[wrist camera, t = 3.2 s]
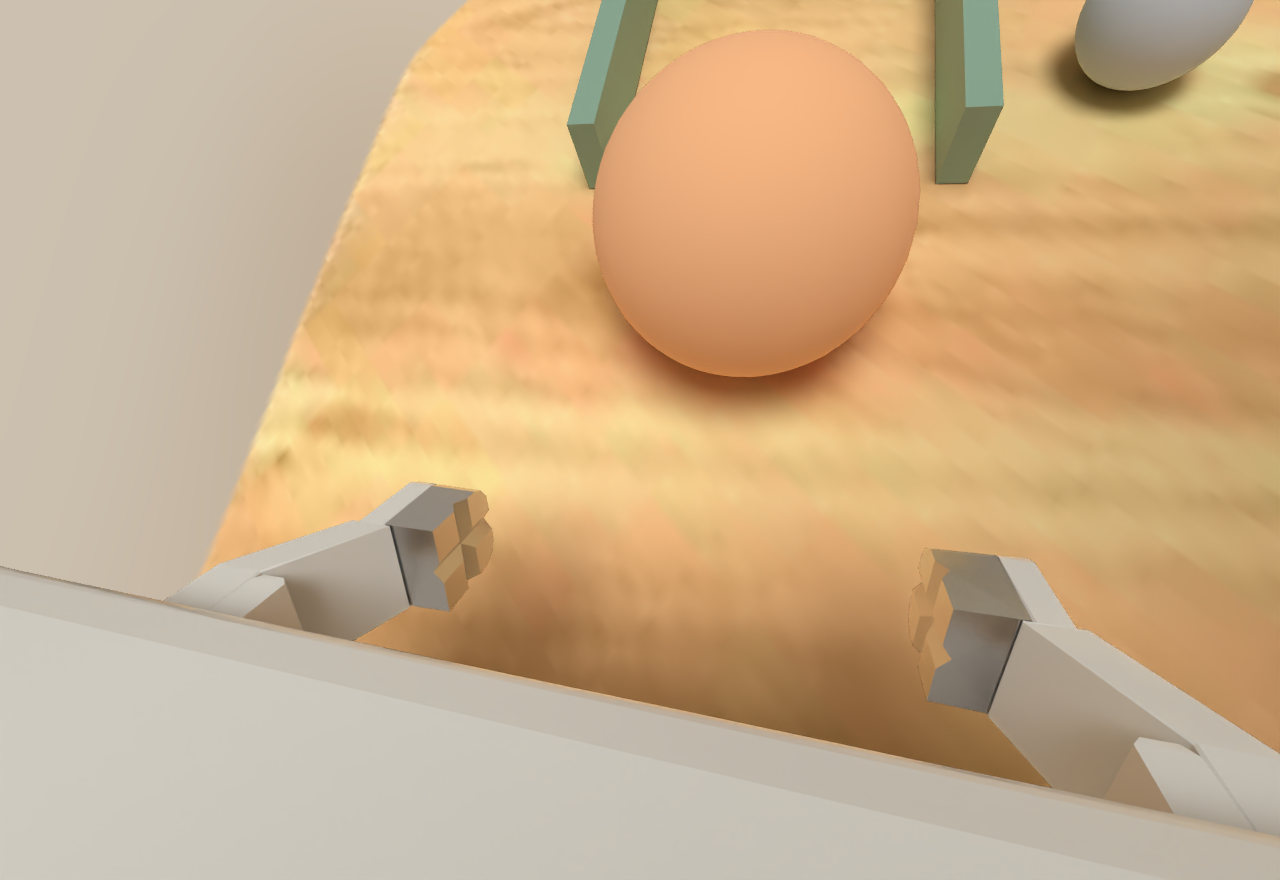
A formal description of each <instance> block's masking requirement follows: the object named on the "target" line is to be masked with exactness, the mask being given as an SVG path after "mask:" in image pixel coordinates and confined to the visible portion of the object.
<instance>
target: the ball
mask: <svg viewBox="0 0 1280 880" xmlns="http://www.w3.org/2000/svg"><path fill="white" fill-rule="evenodd" d="M919 199H920V180H919V169H918V160H917V154H916V150H915V147H914V143H913V139H912V136H911V133H910V130H909V127H908V124H907V122H906V120H905V118H904V116H903V114H902V112H901V109H900V108H899V106H898V105H897V103H896V101H895V100H894V98H893V96H892V95H891V93H890V92H889V91H888V89H887V88H886V86H885V85H884V84H883V82H882V81H881V80H880V79H879V78H878V77H877V76H876V75H875V74H874V73H873V72H872V71H871V70H869V69H868V68H867V67H866V66H865V65H864V64H863V63H862V62H861V61H860V60H858V59H857V58H855V57H854V56H853V55H851V54H850V53H848V52H846V51H845V50H843V49H841V48H839V47H837V46H835V45H833V44H831V43H829V42H827V41H825V40H822V39H820V38H817V37H814V36H811V35H807V34H803V33H798V32H792V31H783V30H756V31H748V32H741V33H736V34H732V35H728V36H724V37H721V38H718V39H715V40H712V41H709V42H707V43H704V44H702V45H700V46H698V47H696V48H694V49H692V50H690V51H688V52H686V53H685V54H683V55H681V56H680V57H678V58H677V59H675V60H674V61H673V62H671V63H670V64H669V65H667V66H666V67H665V68H664V69H662V70H661V71H660V72H659V73H658V74H657V75H655V76H654V77H653V78H652V79H651V80H650V81H649V82H648V83H647V84H646V85H645V86H644V87H643V88H642V89H641V91H640V92H639V93H638V94H637V95H636V96H635V98H634V99H633V101H632V102H631V103H630V105H629V106H628V107H627V109H626V110H625V112H624V113H623V115H622V116H621V118H620V119H619V121H618V123H617V125H616V127H615V129H614V131H613V133H612V135H611V137H610V139H609V142H608V144H607V146H606V148H605V151H604V154H603V157H602V160H601V163H600V167H599V171H598V175H597V179H596V185H595V191H594V200H593V233H594V242H595V248H596V255H597V258H598V262H599V265H600V268H601V272H602V275H603V278H604V281H605V284H606V286H607V288H608V290H609V291H610V293H611V295H612V297H613V299H614V301H615V303H616V305H617V307H618V309H619V310H620V311H621V313H622V314H623V315H624V317H625V318H626V319H627V321H628V322H629V323H630V324H631V326H632V327H633V328H634V329H635V330H636V331H637V332H638V333H639V334H640V335H641V336H642V337H643V338H644V339H645V340H646V341H647V342H648V343H650V344H651V345H652V346H654V347H655V348H656V349H658V350H659V351H660V352H662V353H663V354H665V355H666V356H668V357H670V358H672V359H673V360H675V361H677V362H679V363H681V364H683V365H686V366H688V367H691V368H693V369H696V370H699V371H703V372H707V373H711V374H715V375H723V376H731V377H756V376H765V375H772V374H776V373H781V372H785V371H789V370H792V369H795V368H798V367H801V366H804V365H806V364H809V363H811V362H813V361H815V360H817V359H819V358H821V357H823V356H825V355H826V354H828V353H829V352H831V351H832V350H834V349H835V348H837V347H838V346H840V345H841V344H843V343H844V342H845V341H847V340H848V339H849V338H850V337H851V336H853V335H854V334H855V333H856V332H857V331H858V330H860V329H861V328H862V327H863V326H864V325H865V323H866V322H867V321H868V320H869V319H870V318H871V317H872V316H873V315H874V313H875V312H876V311H877V310H878V309H879V307H880V306H881V305H882V304H883V302H884V301H885V299H886V298H887V296H888V295H889V293H890V292H891V290H892V289H893V287H894V285H895V283H896V281H897V279H898V277H899V275H900V273H901V271H902V269H903V267H904V265H905V262H906V260H907V258H908V255H909V251H910V248H911V245H912V241H913V237H914V234H915V230H916V227H917V220H918V210H919Z"/></svg>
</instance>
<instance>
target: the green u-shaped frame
mask: <svg viewBox="0 0 1280 880" xmlns="http://www.w3.org/2000/svg"><path fill="white" fill-rule="evenodd" d="M657 1H658V0H602V2H601V5H600V9H599V13H598V16H597V20H596V23H595V27H594V30H593V34H592V37H591V41H590V45H589V48H588V52H587V55H586V59H585V62H584V66H583V69H582V73H581V76H580V80H579V84H578V87H577V91H576V94H575V98H574V101H573V105H572V108H571V112H570V115H569V119H568V123H567V127H568V129H569V132H570V135H571V138H572V140H573V143H574V146H575V149H576V152H577V154H578V157H579V160H580V163H581V166H582V168H583V171H584V174H585V177H586V180H587V182H588V185H589V188H590V189H593V188H595V185H596V179H597V175H598V171H599V167H600V163H601V160H602V157H603V154H604V151H605V148H606V146H607V144H608V142H609V139H610V137H611V135H612V133H613V131H614V129H615V127H616V125H617V123H618V121H619V119H620V118H621V116H622V115H623V113H624V112H625V110H626V109H627V107H628V106H629V105H630V103H631V102H632V101H633V99H634V98H635V94H636V90H637V86H638V82H639V77H640V73H641V69H642V65H643V60H644V56H645V52H646V48H647V43H648V39H649V35H650V30H651V26H652V22H653V18H654V13H655V9H656V5H657ZM1003 106H1004V102H1003V84H1002V66H1001V48H1000V30H999V12H998V0H935V148H936V184H945V183H968V181H969V179H970V177H971V175H972V173H973V171H974V168H975V166H976V164H977V162H978V160H979V158H980V155H981V153H982V151H983V149H984V147H985V145H986V143H987V140H988V138H989V136H990V134H991V132H992V130H993V128H994V125H995V123H996V121H997V119H998V117H999V115H1000V112H1001V110H1002V108H1003Z"/></svg>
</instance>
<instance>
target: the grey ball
mask: <svg viewBox="0 0 1280 880" xmlns="http://www.w3.org/2000/svg"><path fill="white" fill-rule="evenodd" d="M1253 1H1254V0H1086V2H1085V4H1084V6H1083V9H1082V11H1081V13H1080V16H1079V19H1078V23H1077V27H1076V33H1075V51H1076V55H1077V59H1078V62H1079V64H1080V66H1081V68H1082V70H1083V71H1084V73H1085V74H1086V75H1087V76H1088V77H1089V78H1090V79H1092V80H1093V81H1094V82H1096V83H1097V84H1099V85H1101V86H1104V87H1107V88H1110V89H1114V90H1122V91H1133V90H1142V89H1148V88H1152V87H1155V86H1159V85H1162V84H1165V83H1167V82H1170V81H1172V80H1174V79H1176V78H1178V77H1181V76H1183V75H1185V74H1186V73H1188V72H1189V71H1191V70H1193V69H1194V68H1196V67H1197V66H1199V65H1200V64H1202V63H1203V62H1204V61H1206V60H1207V59H1208V58H1210V57H1211V56H1212V55H1213V54H1214V53H1215V52H1216V51H1218V50H1219V49H1220V48H1221V47H1222V46H1223V45H1224V44H1225V43H1226V42H1227V40H1228V39H1229V38H1230V37H1231V36H1232V35H1233V33H1234V32H1235V31H1236V30H1237V29H1238V27H1239V26H1240V24H1241V23H1242V21H1243V20H1244V18H1245V16H1246V15H1247V13H1248V11H1249V9H1250V7H1251V5H1252V3H1253Z"/></svg>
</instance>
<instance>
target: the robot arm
mask: <svg viewBox="0 0 1280 880" xmlns="http://www.w3.org/2000/svg"><path fill="white" fill-rule="evenodd" d="M488 511H489V508H488V503H487V498H486V495H485V494H484V493H483V492H481V491H479V490H473V489H466V488H459V487H452V486H446V485H437V484H433V483H424V482H410V483H409V484H408V485H406V486H405V487H404V488H402V489H401V490H400V491H398V492H397V493H396V494H395V495H393V496H392V497H391V498H389V499H388V500H387V501H385V502H384V503H383V504H381V505H380V506H379V507H378V508H376V509H375V510H374V511H372V512H371V513H370V514H368V515H367V516H366V517H365V518H363V519H362V520H361V521H349V522H346V523H343V524H340V525H337V526H334V527H331V528H328V529H325V530H322V531H319V532H316V533H313V534H310V535H307V536H303V537H300V538H297V539H294V540H291V541H288V542H285V543H282V544H279V545H276V546H273V547H270V548H267V549H264V550H260V551H257V552H254V553H251V554H248V555H245V556H242V557H239V558H236V559H233V560H230V561H227V562H224V563H221V564H218V565H217V566H215V567H214V568H212V569H211V570H209V571H208V572H206V573H204V574H203V575H201V576H200V577H198V578H197V579H195V580H194V581H192V582H191V583H189V584H188V585H186V586H185V587H183V588H182V589H180V590H179V591H177V592H176V593H174V594H173V595H171V596H170V597H168V598H167V599H165V600H164V601H161V600H156V599H152V598H147V597H142V596H137V595H133V594H128V593H123V592H118V591H114V590H109V589H104V588H100V587H94V586H90V585H85V584H81V583H75V582H71V581H66V580H61V579H57V578H52V577H47V576H42V575H38V574H33V573H29V572H23V571H19V570H15V569H10V568H6V567H2V566H0V880H1280V754H1279V753H1277V752H1276V751H1274V750H1273V749H1271V748H1270V747H1268V746H1267V745H1265V744H1264V743H1262V742H1260V741H1259V740H1257V739H1256V738H1254V737H1253V736H1251V735H1250V734H1248V733H1247V732H1245V731H1243V730H1242V729H1240V728H1239V727H1237V726H1236V725H1234V724H1233V723H1231V722H1230V721H1228V720H1226V719H1225V718H1223V717H1222V716H1220V715H1219V714H1217V713H1216V712H1214V711H1212V710H1211V709H1209V708H1208V707H1206V706H1205V705H1203V704H1202V703H1200V702H1199V701H1197V700H1195V699H1194V698H1192V697H1191V696H1189V695H1188V694H1186V693H1185V692H1183V691H1182V690H1180V689H1178V688H1177V687H1175V686H1174V685H1172V684H1171V683H1169V682H1168V681H1166V680H1165V679H1163V678H1161V677H1160V676H1158V675H1157V674H1155V673H1154V672H1152V671H1151V670H1149V669H1147V668H1146V667H1144V666H1143V665H1141V664H1140V663H1138V662H1137V661H1135V660H1134V659H1132V658H1130V657H1129V656H1127V655H1126V654H1124V653H1123V652H1121V651H1120V650H1118V649H1117V648H1115V647H1113V646H1112V645H1110V644H1109V643H1107V642H1106V641H1104V640H1103V639H1101V638H1100V637H1098V636H1096V635H1095V634H1093V633H1092V632H1090V631H1088V630H1082V629H1077V628H1076V626H1075V625H1074V623H1073V622H1072V620H1071V619H1070V617H1069V615H1068V614H1067V612H1066V611H1065V609H1064V608H1063V606H1062V605H1061V603H1060V601H1059V600H1058V598H1057V597H1056V595H1055V594H1054V592H1053V591H1052V589H1051V587H1050V586H1049V584H1048V583H1047V581H1046V580H1045V578H1044V577H1043V575H1042V573H1041V572H1040V570H1039V569H1038V567H1037V566H1036V564H1035V563H1034V562H1033V561H1032V560H1030V559H1028V558H1022V557H1011V556H1001V555H987V554H978V553H968V552H959V551H950V550H940V549H931V548H925V549H924V551H923V553H922V555H921V559H920V563H919V566H918V569H919V573H920V576H921V579H922V583H921V584H919V585H918V586H917V587H915V588H914V589H913V591H912V595H911V600H910V605H909V621H908V622H909V631H910V637H911V641H912V645H913V646H914V647H915V648H916V649H917V650H918V651H919V652H920V653H921V656H920V660H919V664H918V669H919V673H920V677H921V681H922V685H923V688H924V692H925V696H926V700H927V701H931V702H936V703H940V704H945V705H950V706H954V707H959V708H964V709H969V710H973V711H978V712H983V713H987V714H988V717H989V718H990V719H991V720H992V722H993V723H994V724H995V725H996V726H997V727H998V728H999V729H1000V730H1001V732H1002V733H1003V734H1004V735H1005V736H1006V737H1007V738H1008V739H1009V740H1010V742H1011V743H1012V744H1013V745H1014V746H1015V747H1016V748H1017V749H1018V750H1019V752H1020V753H1021V754H1022V755H1023V756H1024V757H1025V758H1026V759H1027V760H1028V762H1029V763H1030V764H1031V765H1032V766H1033V767H1034V768H1035V769H1036V771H1037V772H1038V773H1039V774H1040V775H1041V776H1042V777H1043V778H1044V779H1045V781H1046V782H1047V783H1048V784H1049V785H1050V786H1051V787H1052V788H1048V787H1044V786H1039V785H1034V784H1029V783H1025V782H1020V781H1015V780H1010V779H1006V778H1001V777H996V776H991V775H987V774H982V773H977V772H972V771H967V770H962V769H957V768H952V767H948V766H943V765H938V764H933V763H929V762H924V761H919V760H914V759H910V758H905V757H900V756H896V755H891V754H886V753H881V752H877V751H872V750H867V749H862V748H858V747H853V746H848V745H844V744H839V743H834V742H829V741H825V740H820V739H815V738H811V737H806V736H801V735H796V734H792V733H787V732H782V731H777V730H773V729H768V728H763V727H759V726H754V725H749V724H744V723H740V722H735V721H730V720H726V719H721V718H716V717H711V716H707V715H702V714H697V713H693V712H688V711H683V710H678V709H674V708H669V707H664V706H659V705H654V704H650V703H645V702H640V701H635V700H631V699H626V698H621V697H616V696H611V695H607V694H602V693H597V692H592V691H587V690H583V689H578V688H573V687H568V686H564V685H559V684H554V683H549V682H544V681H540V680H535V679H530V678H525V677H521V676H516V675H511V674H506V673H502V672H497V671H492V670H487V669H483V668H478V667H473V666H469V665H464V664H459V663H454V662H450V661H445V660H440V659H435V658H431V657H426V656H421V655H416V654H412V653H407V652H402V651H398V650H393V649H388V648H383V647H379V646H374V645H369V644H364V643H360V642H355V641H354V640H356V639H357V638H359V637H361V636H362V635H364V634H366V633H367V632H369V631H371V630H373V629H374V628H376V627H378V626H379V625H381V624H383V623H384V622H386V621H388V620H390V619H391V618H393V617H395V616H396V615H398V614H400V613H401V612H403V611H405V610H407V609H408V608H410V605H411V606H417V607H424V608H430V609H437V610H443V611H451V609H452V608H453V607H454V606H455V604H456V603H457V602H458V601H459V599H460V598H461V597H462V596H463V595H464V593H465V592H466V591H467V590H468V581H467V580H468V579H470V578H472V577H474V576H477V575H479V574H481V572H482V571H483V570H484V568H485V567H486V566H487V564H488V562H489V559H490V556H491V554H492V551H493V533H492V528H491V527H490V526H489V524H488V523H487V522H486V521H485V519H484V517H485V515H486V514H487V512H488Z"/></svg>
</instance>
